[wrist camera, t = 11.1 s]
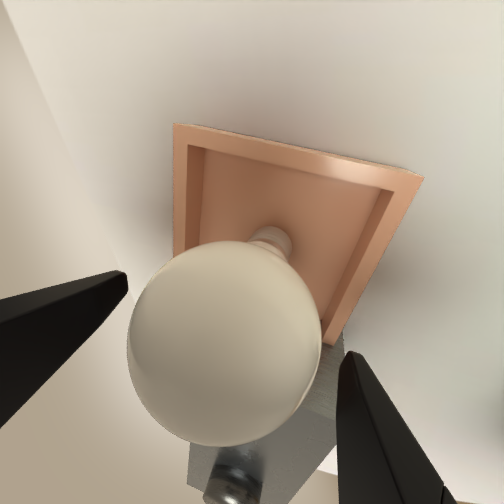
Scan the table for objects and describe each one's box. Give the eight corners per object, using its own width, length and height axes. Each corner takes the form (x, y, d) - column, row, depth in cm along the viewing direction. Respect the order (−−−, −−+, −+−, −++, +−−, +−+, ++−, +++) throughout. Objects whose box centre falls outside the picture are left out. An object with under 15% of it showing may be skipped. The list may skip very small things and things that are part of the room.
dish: (405, 169, 11) (424, 177, 9) (328, 327, 17) (329, 354, 15) (197, 125, 13) (173, 123, 11) (190, 281, 19) (173, 299, 17)
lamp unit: (239, 288, 18) (180, 394, 11) (346, 323, 17) (364, 473, 9) (217, 406, 27) (177, 508, 20) (286, 435, 26) (270, 556, 18)
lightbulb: (223, 269, 17) (95, 436, 8) (231, 183, 14) (30, 284, 4) (308, 293, 16) (283, 527, 6) (337, 205, 13) (371, 406, 3)
